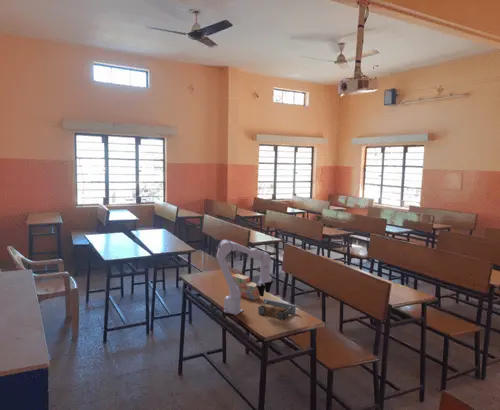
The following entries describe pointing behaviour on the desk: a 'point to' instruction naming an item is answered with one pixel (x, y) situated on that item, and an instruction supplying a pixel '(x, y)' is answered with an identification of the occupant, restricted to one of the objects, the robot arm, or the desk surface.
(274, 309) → the rail
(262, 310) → the cup bracket left
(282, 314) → the cup bracket right
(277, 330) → the desk surface
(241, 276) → the stack of blocks
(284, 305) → the backboard
